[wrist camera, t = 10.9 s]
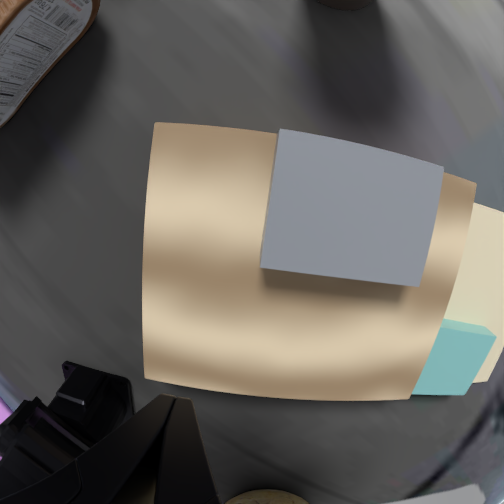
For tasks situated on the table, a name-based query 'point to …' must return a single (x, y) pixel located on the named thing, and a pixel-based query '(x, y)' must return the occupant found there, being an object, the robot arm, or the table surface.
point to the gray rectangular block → (348, 210)
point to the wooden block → (274, 284)
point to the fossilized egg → (267, 497)
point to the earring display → (4, 412)
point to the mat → (482, 281)
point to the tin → (36, 43)
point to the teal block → (454, 358)
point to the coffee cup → (345, 4)
